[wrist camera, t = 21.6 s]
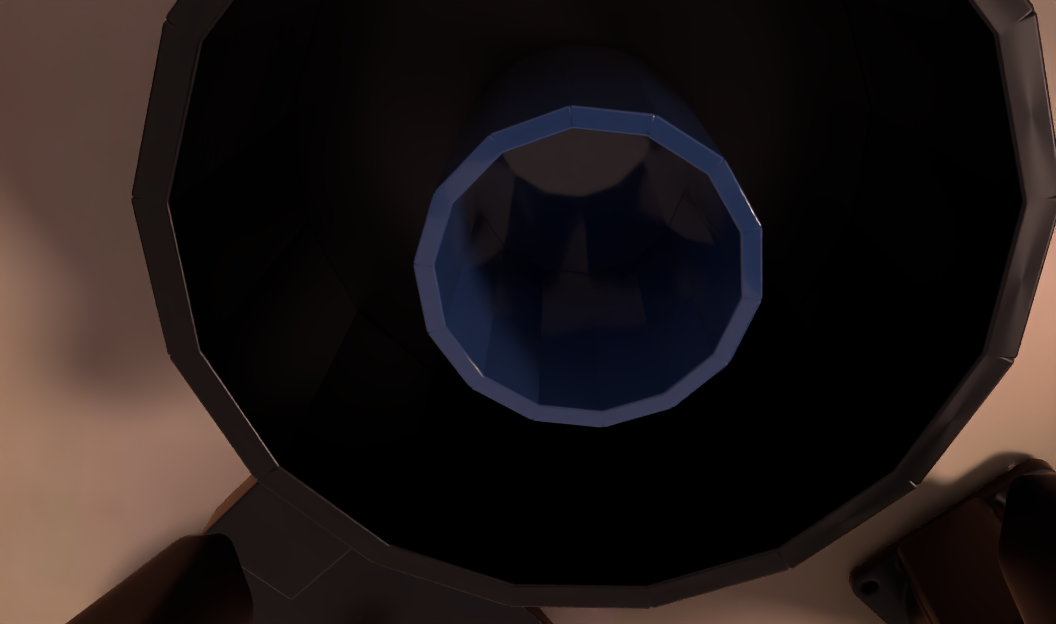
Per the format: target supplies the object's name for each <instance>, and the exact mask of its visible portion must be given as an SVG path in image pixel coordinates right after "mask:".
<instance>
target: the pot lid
mask: <svg viewBox="0 0 1056 624" xmlns="http://www.w3.org/2000/svg"><path fill="white" fill-rule="evenodd" d="M242 570H243V572H244V575H245V578H246V581H247V583H248V586H249V589H250V592H251V595H252V600H253V620H252V624H553V623H552V622H551V621H550V620H549V618H548V617H547V616H546V615H545V614H544V613H543V612H542V611H541V610H540V608H539V607H512V606H510V604H509V605H503V604H500V603H496V602H493V601H490V600H487V599H484V598H481V597H478V596H474V595H471V594H468V593H465V592H462V591H459V590H456V589H452V588H449V587H446V586H443V585H440V584H437V583H434V582H430V581H427V580H424V579H421V578H418V577H415V576H412V575H408V574H405V573H402V572H399V571H396V570H393V569H390V568H386V567H383V566H380V565H377V564H376V563H375V562H374V563H372V562H370V561H369V560H367V559H366V558H365V557H363V556H362V555H360V554H359V553H358V552H356V551H355V550H353V549H351V550H350V551H349V552H348V553H347V554H345V555H344V556H343V557H342V558H341V559H340V560H338V561H337V562H336V563H335V564H334V565H333V566H331V567H330V568H329V569H328V570H327V571H326V572H324V573H323V574H322V575H321V576H320V577H319V578H317V579H316V580H315V581H314V582H313V583H312V584H310V585H309V586H308V587H307V588H306V589H305V590H303V591H302V592H301V593H300V594H299V595H298V596H296V597H295V598H294V599H288V598H287V597H285V596H284V595H282V594H281V593H280V592H278V591H277V590H275V589H274V588H272V587H271V586H269V585H268V584H266V583H265V582H263V581H262V580H260V579H259V578H257V577H256V576H254V575H253V574H251V573H250V572H248V571H247V570H245V569H244V568H242Z"/></svg>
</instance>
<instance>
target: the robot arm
mask: <svg viewBox="0 0 1056 624" xmlns="http://www.w3.org/2000/svg"><path fill="white" fill-rule="evenodd" d="M867 581H871V582H869V583H865V582H867ZM849 583H850V585H851V588H852V590H853V592H854V593H855V595H856V596H857V597H858V598H859V599H860V600H861V601H862V602H864V603H865V604H866V605H867V606H868V607H869V608H870V609H871V610H873V611H874V612H875V613H876V614H877V615H878V616H879V617H880V618H882V619H883V620H884V621H885V622H886V623H887V624H1056V472H1055V471H1054V470H1053V468H1052V467H1051V466H1050V465H1049V464H1048V463H1047V462H1045V461H1044V460H1040V459H1032V460H1027V461H1025V462H1023V463H1021V464H1019V465H1018V466H1016V467H1015V468H1013V469H1012V470H1010V471H1008V472H1007V473H1005V474H1004V475H1002V476H1000V477H999V478H997V479H996V480H994V481H993V482H991V483H989V484H988V485H986V486H985V487H983V488H981V489H980V490H978V491H977V492H975V493H974V494H972V495H970V496H969V497H967V498H966V499H964V500H962V501H961V502H959V503H958V504H956V505H955V506H953V507H951V508H950V509H948V510H947V511H945V512H944V513H942V514H940V515H939V516H937V517H936V518H934V519H932V520H931V521H929V522H928V523H926V524H925V525H923V526H921V527H920V528H918V529H917V530H915V531H913V532H912V533H910V534H909V535H907V536H906V537H904V538H902V539H901V540H899V541H898V542H896V543H894V544H893V545H891V546H890V547H888V548H887V549H885V550H883V551H882V552H880V553H879V554H877V555H875V556H874V557H872V558H871V559H869V560H868V561H866V562H864V563H863V564H861V565H860V566H858V567H856V568H855V569H854V570H853V571H852V572H851V573H850V575H849ZM252 620H253V600H252V595H251V592H250V589H249V586H248V583H247V581H246V578H245V575H244V572H243V570H242V567H241V564H240V561H239V558H238V556H237V553H236V550H235V547H234V545H233V543H232V541H231V540H230V539H229V537H228V536H226V535H224V534H221V533H214V534H200V535H189V536H184V537H182V538H180V539H178V540H177V541H175V542H174V543H172V544H171V545H170V546H168V547H167V548H166V549H165V550H163V551H162V552H161V553H159V554H158V555H157V556H155V557H154V558H153V559H151V560H150V561H149V562H147V563H146V564H145V565H143V566H142V567H141V568H139V569H138V570H137V571H135V572H134V573H133V574H131V575H130V576H129V577H127V578H126V579H125V580H123V581H122V582H121V583H119V584H118V585H117V586H115V587H114V588H113V589H111V590H110V591H109V592H107V593H106V594H105V595H103V596H102V597H101V598H99V599H98V600H97V601H95V602H94V603H93V604H91V605H90V606H89V607H87V608H86V609H85V610H83V611H82V612H81V613H79V614H78V615H77V616H75V617H74V618H73V619H71V620H70V621H69V622H67V623H66V624H252Z"/></svg>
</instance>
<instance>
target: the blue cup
mask: <svg viewBox="0 0 1056 624" xmlns="http://www.w3.org/2000/svg"><path fill="white" fill-rule="evenodd" d="M413 268H414V273H415V278H416V283H417V288H418V293H419V298H420V303H421V307H422V312H423V317H424V322H425V327H426V331H427V332H428V335H429V336H430V337H431V339H432V340H433V341H434V342H435V344H436V345H437V346H438V348H439V349H440V350H441V351H442V353H443V354H444V355H445V357H446V358H447V359H448V360H449V362H450V363H451V364H452V365H453V367H454V368H455V369H456V371H457V372H458V373H459V374H460V376H461V377H462V378H463V380H464V381H465V382H466V383H467V385H468V386H469V387H471V388H472V389H473V390H475V391H477V392H479V393H481V394H483V395H485V396H486V397H488V398H490V399H492V400H494V401H496V402H498V403H500V404H502V405H503V406H505V407H507V408H509V409H511V410H513V411H515V412H517V413H519V414H521V415H522V416H524V417H526V418H528V419H530V420H532V419H533V420H534V421H541V422H551V423H561V424H571V425H581V426H591V427H608V426H611V425H615V424H618V423H622V422H625V421H629V420H632V419H636V418H639V417H643V416H647V415H650V414H654V413H657V412H661V411H664V410H668V409H671V408H672V407H675V406H676V405H677V404H678V403H680V402H681V401H682V400H684V399H685V398H686V397H687V396H689V395H690V394H691V393H692V392H694V391H695V390H696V389H698V388H699V387H700V386H701V385H703V384H704V383H705V382H706V381H708V380H709V379H710V378H712V377H713V376H714V375H715V374H717V373H718V372H719V371H721V370H722V369H723V368H724V367H726V366H727V365H728V363H729V362H730V361H731V359H732V357H733V355H734V353H735V351H736V350H737V348H738V346H739V344H740V342H741V340H742V338H743V336H744V334H745V332H746V330H747V328H748V326H749V324H750V322H751V320H752V318H753V317H754V315H755V313H756V311H757V309H758V307H759V305H760V303H761V299H762V297H763V237H762V226H761V222H760V220H759V218H758V217H757V215H756V213H755V211H754V209H753V207H752V206H751V204H750V202H749V200H748V198H747V197H746V195H745V193H744V191H743V189H742V188H741V186H740V184H739V182H738V180H737V179H736V177H735V175H734V173H733V171H732V169H731V168H730V166H729V164H728V162H727V160H726V159H725V158H724V156H723V155H722V153H721V152H720V150H719V149H718V147H717V146H716V145H715V143H714V142H713V140H712V139H711V137H710V136H709V135H708V133H707V132H706V130H705V129H704V127H703V126H702V124H701V123H700V122H699V120H698V119H697V117H696V116H695V114H694V113H693V111H692V110H691V109H690V107H689V106H688V104H687V103H686V101H685V100H684V98H683V97H682V96H681V94H680V93H679V91H678V90H677V88H676V87H675V86H674V85H673V84H672V82H670V81H669V80H667V79H666V78H664V77H663V76H661V75H660V74H659V73H658V72H657V71H656V70H654V69H653V68H652V67H650V66H649V65H647V64H646V63H644V62H643V61H641V60H639V59H637V58H635V57H633V56H631V55H629V54H627V53H624V52H622V51H618V50H615V49H612V48H607V47H601V46H596V45H569V46H561V47H556V48H551V49H547V50H544V51H541V52H539V53H536V54H533V55H531V56H529V57H527V58H525V59H523V60H521V61H519V62H517V63H516V64H514V65H512V66H511V67H509V68H508V69H507V70H506V71H505V72H503V73H502V74H501V75H500V76H499V77H498V78H497V79H496V80H495V81H494V82H493V83H492V84H491V85H490V86H489V87H488V88H487V90H486V91H485V92H484V93H483V95H482V96H481V97H480V99H479V100H478V101H477V102H476V103H475V104H474V105H473V106H472V108H471V110H470V111H469V113H468V116H467V118H466V120H465V122H464V125H463V127H462V129H461V131H460V134H459V136H458V138H457V140H456V143H455V145H454V147H453V149H452V151H451V154H450V156H449V158H448V160H447V163H446V165H445V167H444V169H443V172H442V174H441V176H440V178H439V181H438V183H437V185H436V187H435V190H434V192H433V194H432V198H431V201H430V204H429V208H428V211H427V215H426V218H425V222H424V225H423V228H422V232H421V235H420V239H419V242H418V245H417V249H416V252H415V256H414V259H413Z"/></svg>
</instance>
